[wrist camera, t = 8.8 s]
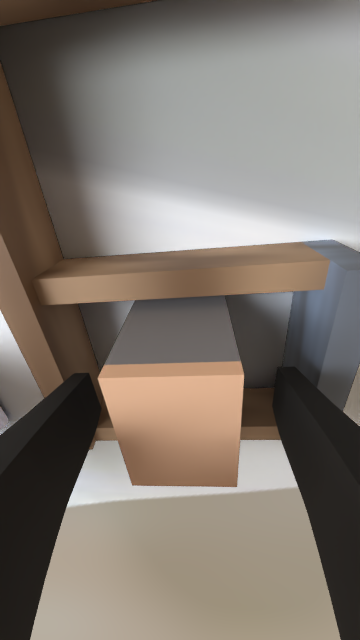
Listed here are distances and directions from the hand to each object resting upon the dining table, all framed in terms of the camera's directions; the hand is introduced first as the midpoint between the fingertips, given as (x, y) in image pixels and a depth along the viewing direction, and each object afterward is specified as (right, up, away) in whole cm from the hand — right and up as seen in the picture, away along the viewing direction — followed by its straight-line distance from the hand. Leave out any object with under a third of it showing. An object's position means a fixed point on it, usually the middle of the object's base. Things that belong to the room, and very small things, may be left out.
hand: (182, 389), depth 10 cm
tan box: (0, +2, +3) cm, 4 cm away
